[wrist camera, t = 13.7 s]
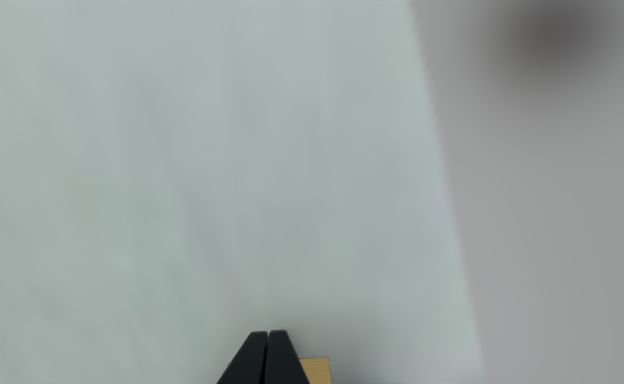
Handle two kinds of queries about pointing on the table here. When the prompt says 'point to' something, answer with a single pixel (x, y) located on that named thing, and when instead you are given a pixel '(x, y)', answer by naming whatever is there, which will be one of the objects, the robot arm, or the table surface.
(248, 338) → the robot arm
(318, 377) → the free jaw
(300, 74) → the table surface
